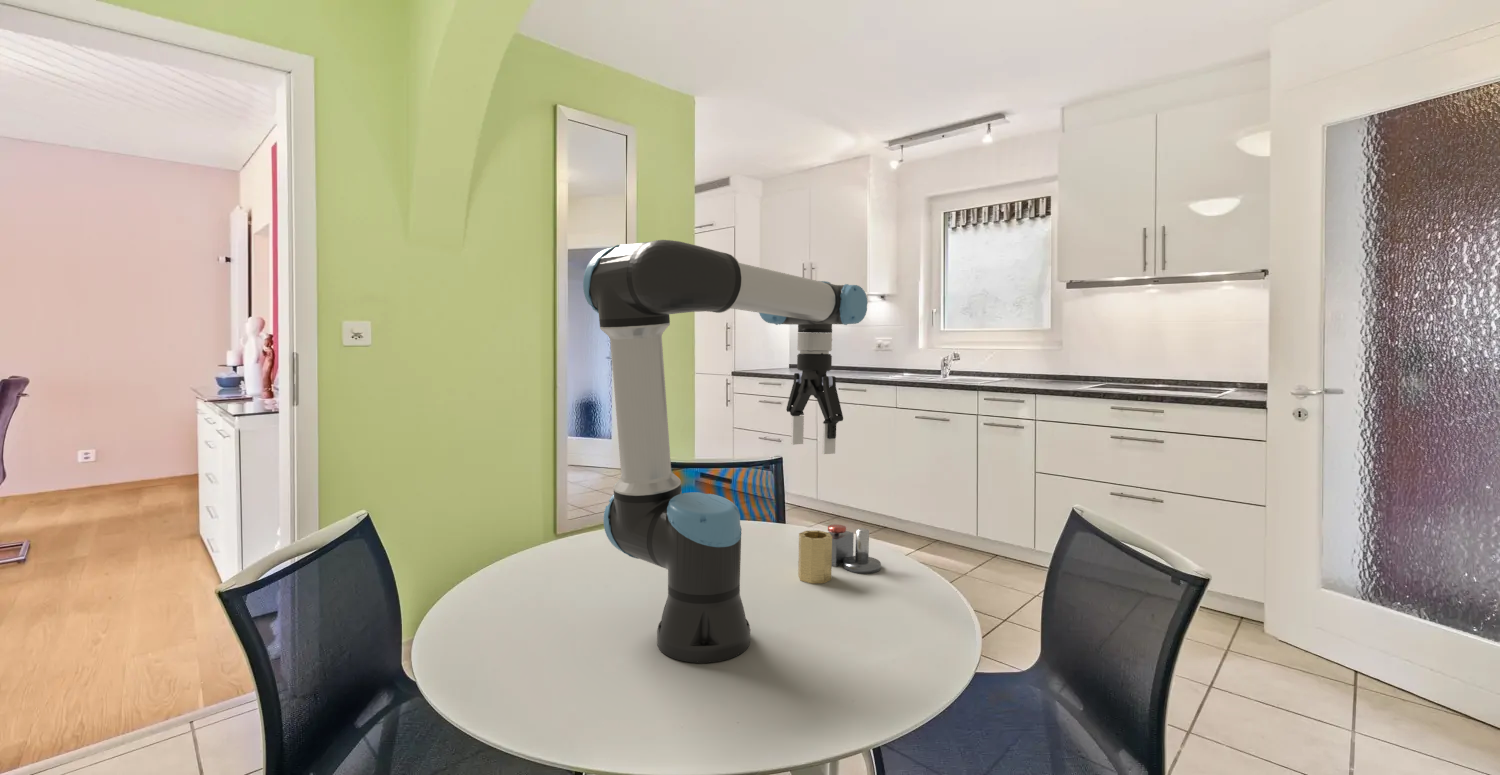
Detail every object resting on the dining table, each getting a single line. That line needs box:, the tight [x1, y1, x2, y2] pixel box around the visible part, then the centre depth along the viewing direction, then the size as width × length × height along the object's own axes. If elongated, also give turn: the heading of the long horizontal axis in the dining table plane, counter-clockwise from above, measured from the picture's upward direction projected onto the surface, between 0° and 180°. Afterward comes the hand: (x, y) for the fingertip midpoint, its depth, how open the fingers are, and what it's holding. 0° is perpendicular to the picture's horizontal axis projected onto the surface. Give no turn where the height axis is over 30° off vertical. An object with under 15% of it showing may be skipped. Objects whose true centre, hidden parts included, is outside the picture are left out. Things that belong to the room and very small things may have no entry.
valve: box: [827, 523, 882, 575], centre depth 148 cm, size 8×13×8 cm, turn 50°
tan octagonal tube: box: [797, 529, 833, 585], centre depth 140 cm, size 6×6×9 cm
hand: (812, 448), depth 151 cm, fingers open, 13 cm apart
